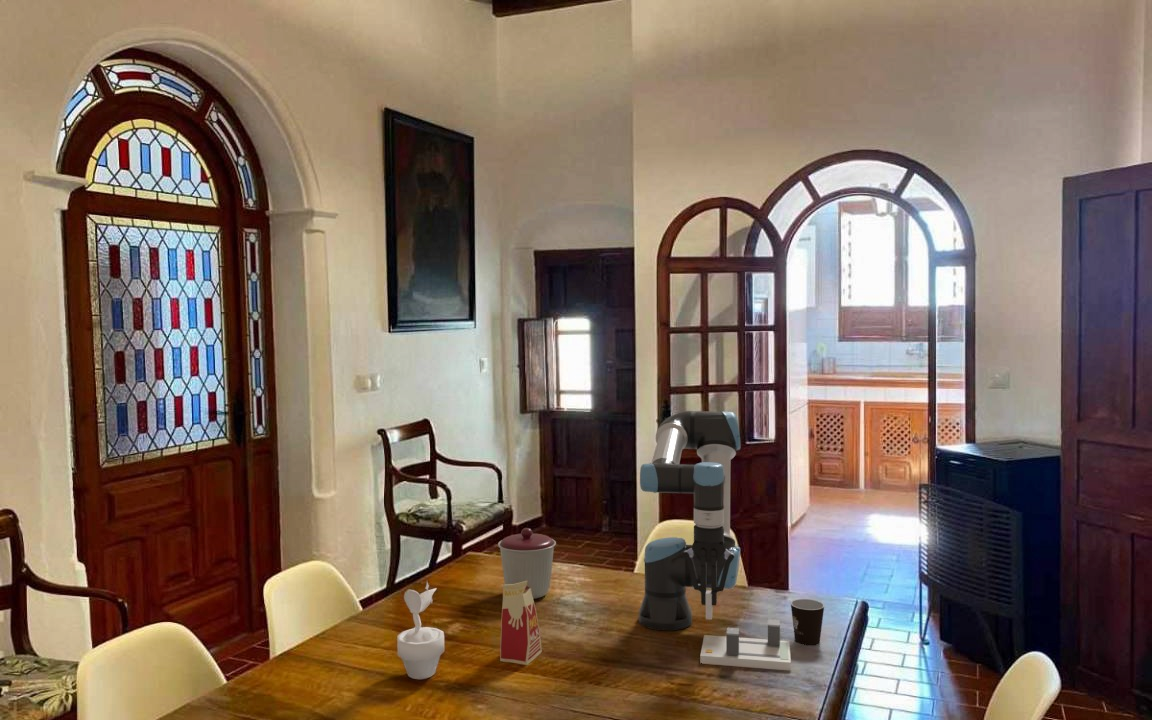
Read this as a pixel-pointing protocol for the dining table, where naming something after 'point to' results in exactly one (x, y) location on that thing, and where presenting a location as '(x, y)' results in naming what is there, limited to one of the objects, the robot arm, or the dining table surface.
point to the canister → (528, 560)
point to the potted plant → (420, 639)
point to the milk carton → (519, 625)
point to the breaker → (773, 632)
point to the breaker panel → (746, 653)
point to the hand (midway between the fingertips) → (709, 617)
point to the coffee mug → (807, 621)
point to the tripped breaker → (732, 641)
